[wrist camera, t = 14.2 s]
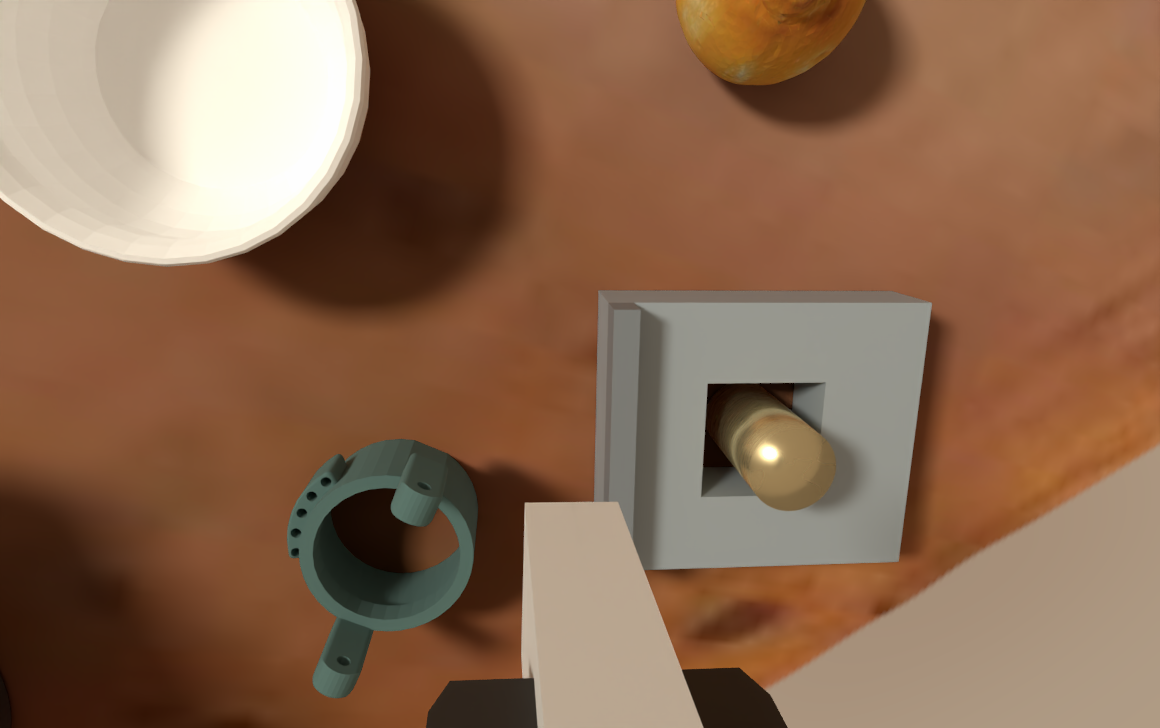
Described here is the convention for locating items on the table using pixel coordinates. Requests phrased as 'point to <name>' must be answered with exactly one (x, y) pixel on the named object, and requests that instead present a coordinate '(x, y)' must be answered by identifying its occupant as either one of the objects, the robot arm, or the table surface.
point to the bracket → (363, 589)
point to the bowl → (177, 119)
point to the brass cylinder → (770, 446)
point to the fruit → (764, 35)
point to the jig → (821, 399)
